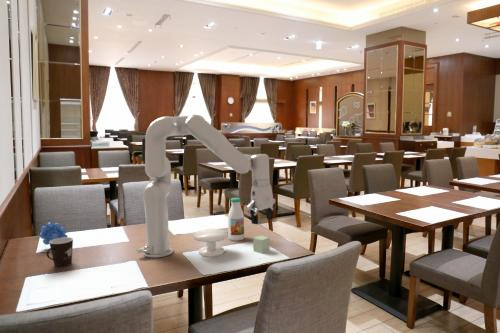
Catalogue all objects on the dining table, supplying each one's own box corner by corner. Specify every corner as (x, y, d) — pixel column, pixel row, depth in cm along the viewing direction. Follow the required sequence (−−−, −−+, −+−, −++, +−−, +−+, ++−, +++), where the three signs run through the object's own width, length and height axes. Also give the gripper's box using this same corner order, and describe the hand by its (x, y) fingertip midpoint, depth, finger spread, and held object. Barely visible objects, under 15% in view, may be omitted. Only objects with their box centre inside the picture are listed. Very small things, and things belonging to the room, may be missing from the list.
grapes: (40, 252, 173) (38, 226, 171) (40, 248, 178) (38, 222, 177) (69, 247, 178) (67, 222, 177) (67, 243, 184) (66, 219, 183)
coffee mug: (68, 258, 163) (66, 236, 162) (78, 263, 158) (76, 239, 157) (39, 267, 154) (37, 243, 153) (49, 272, 149) (47, 247, 148)
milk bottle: (225, 239, 186) (224, 199, 184) (233, 235, 193) (232, 196, 190) (239, 241, 182) (238, 200, 180) (247, 237, 189) (246, 197, 187)
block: (261, 253, 166) (261, 240, 165) (253, 251, 169) (253, 237, 169) (269, 250, 170) (269, 237, 169) (261, 248, 173) (260, 235, 172)
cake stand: (209, 261, 158) (208, 241, 157) (187, 253, 168) (186, 234, 167) (235, 252, 169) (235, 233, 168) (213, 244, 179) (212, 227, 178)
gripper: (253, 186, 157) (255, 227, 159) (280, 180, 170) (281, 218, 172) (240, 184, 162) (242, 224, 164) (267, 179, 175) (268, 216, 177)
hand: (262, 221), depth 168 cm, fingers open, 9 cm apart
